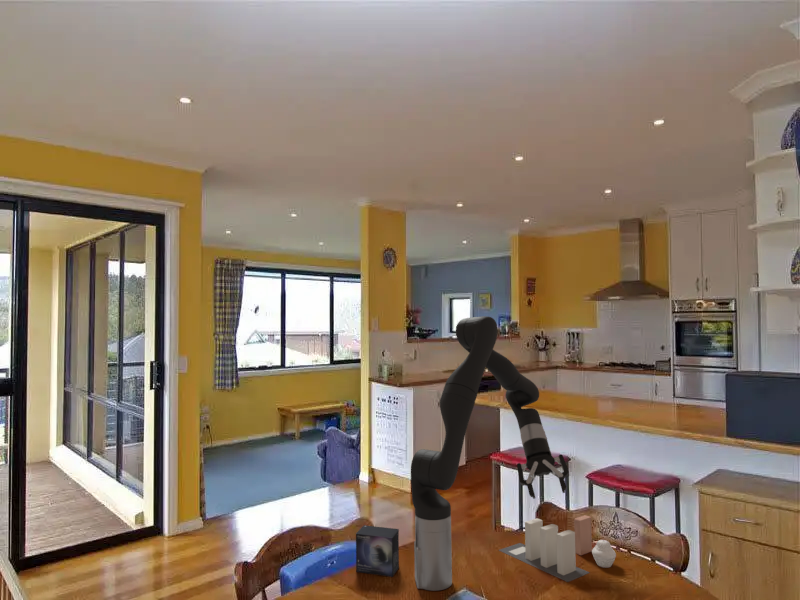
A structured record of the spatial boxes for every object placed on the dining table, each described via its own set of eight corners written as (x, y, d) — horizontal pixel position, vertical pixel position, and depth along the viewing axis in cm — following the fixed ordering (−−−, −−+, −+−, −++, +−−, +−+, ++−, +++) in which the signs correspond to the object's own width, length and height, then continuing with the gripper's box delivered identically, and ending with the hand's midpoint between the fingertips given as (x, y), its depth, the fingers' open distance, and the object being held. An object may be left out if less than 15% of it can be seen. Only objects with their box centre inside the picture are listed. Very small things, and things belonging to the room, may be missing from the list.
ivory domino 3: (557, 572, 145) (556, 533, 145) (569, 567, 148) (568, 529, 148) (563, 575, 143) (562, 536, 144) (575, 570, 146) (574, 531, 147)
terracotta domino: (575, 554, 157) (574, 518, 158) (586, 550, 160) (585, 515, 160) (580, 556, 156) (580, 520, 156) (592, 552, 158) (591, 517, 159)
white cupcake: (595, 559, 154) (595, 533, 154) (618, 564, 150) (618, 538, 151) (589, 567, 149) (588, 541, 149) (613, 573, 145) (612, 546, 145)
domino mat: (498, 551, 160) (498, 549, 160) (520, 544, 165) (520, 542, 165) (567, 583, 140) (567, 581, 140) (590, 574, 145) (590, 572, 145)
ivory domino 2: (540, 565, 149) (539, 527, 150) (553, 560, 152) (552, 523, 153) (546, 567, 148) (545, 529, 148) (558, 563, 151) (557, 525, 151)
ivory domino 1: (525, 558, 154) (524, 521, 154) (537, 554, 157) (537, 518, 157) (531, 560, 152) (530, 524, 153) (543, 556, 155) (542, 520, 156)
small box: (354, 573, 147) (354, 533, 148) (363, 562, 153) (363, 524, 154) (392, 577, 144) (392, 537, 145) (399, 567, 150) (399, 528, 151)
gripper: (510, 442, 167) (522, 495, 156) (557, 432, 164) (573, 485, 154) (513, 451, 172) (525, 503, 162) (559, 442, 170) (574, 494, 160)
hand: (549, 494), depth 158 cm, fingers open, 8 cm apart
